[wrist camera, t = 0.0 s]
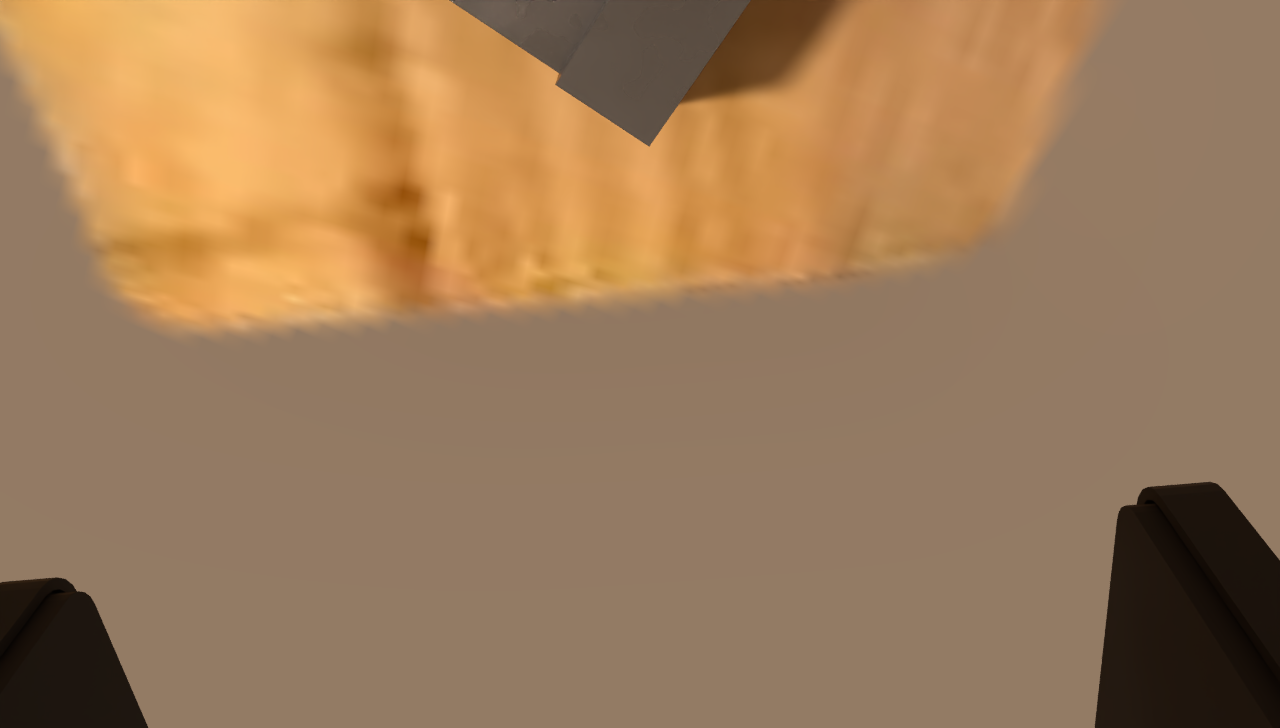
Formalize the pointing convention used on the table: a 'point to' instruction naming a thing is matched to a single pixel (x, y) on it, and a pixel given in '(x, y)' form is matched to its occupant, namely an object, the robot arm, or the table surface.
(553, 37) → the slotted ledge
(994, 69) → the table surface
